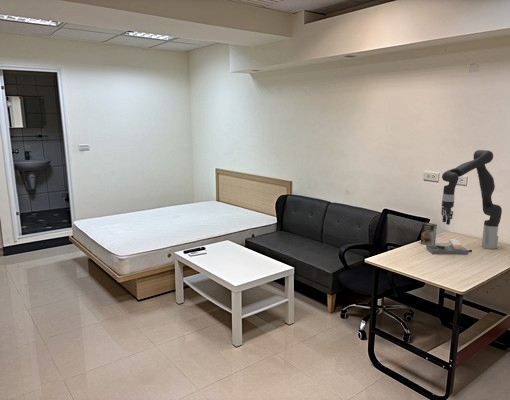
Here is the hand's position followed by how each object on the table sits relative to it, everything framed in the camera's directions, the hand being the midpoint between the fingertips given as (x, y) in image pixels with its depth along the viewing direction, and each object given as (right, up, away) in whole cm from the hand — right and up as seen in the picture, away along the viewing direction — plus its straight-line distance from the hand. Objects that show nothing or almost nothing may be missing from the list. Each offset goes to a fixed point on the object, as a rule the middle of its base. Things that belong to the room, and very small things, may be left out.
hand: (446, 223), depth 275 cm
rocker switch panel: (+7, -21, +8) cm, 24 cm away
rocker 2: (+10, -16, +7) cm, 20 cm away
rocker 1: (0, -16, +7) cm, 17 cm away
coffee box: (-1, -18, +26) cm, 32 cm away
